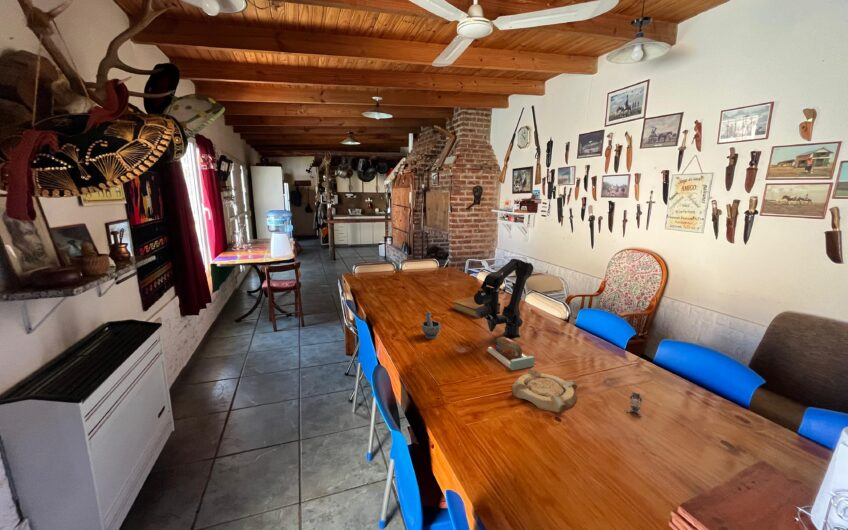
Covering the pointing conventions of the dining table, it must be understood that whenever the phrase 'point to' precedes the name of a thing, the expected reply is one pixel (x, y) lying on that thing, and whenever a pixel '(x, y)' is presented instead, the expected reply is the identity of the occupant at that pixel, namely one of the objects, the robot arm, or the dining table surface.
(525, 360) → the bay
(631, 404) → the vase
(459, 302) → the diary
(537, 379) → the ashtray
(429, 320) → the mortar and pestle
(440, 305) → the dining table surface
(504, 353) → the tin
